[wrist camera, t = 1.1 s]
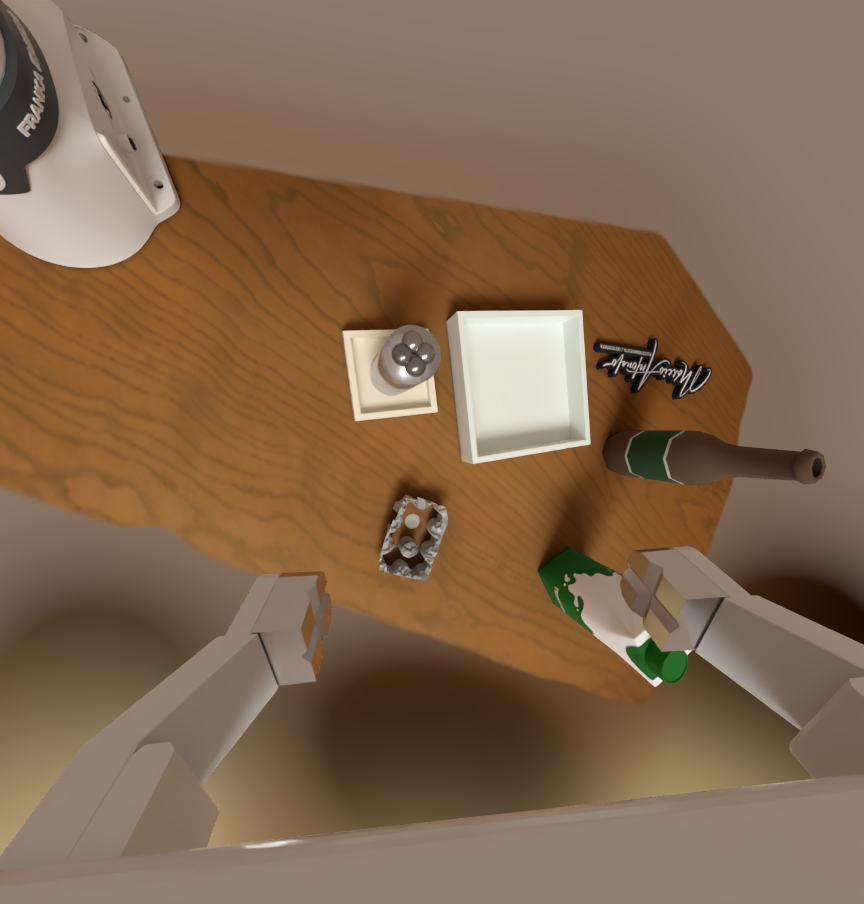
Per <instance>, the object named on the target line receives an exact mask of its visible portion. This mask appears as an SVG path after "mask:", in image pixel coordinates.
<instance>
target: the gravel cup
mask: <svg viewBox="0 0 864 904" xmlns="http://www.w3.org/2000/svg"><path fill="white" fill-rule="evenodd" d="M440 361H441V352H440V347H439V344H438V342H437V340H436V339H435V337H434V336H433V335H432V334H431V333H430V332H429V331H428V330H426V329H425V328H423V327H420V326H417V325H405V326H402V327H400V328H398V329H396V330H395V331H394V332H393V333H392V334H391V335H390V337H389V338H388V340H387V342H386V343H385V345H384V346H383V348H382V350H381V351H380V353H379V354H378V356H377V358H376V359H375V361H374V362H373V364H372V366H371V370H370V378H371V381H372V384H373V385H374V387H375V388H376V389H377V390H378V391H379V392H380V393H382V394H384V395H387V396H397V395H400V394H402V393H404V392H406V391H407V390H409V389H411V388H413V387H415V386H417V385H419V384H421V383H423V382H425V381H427V380H428V379H430V378H431V377H432V376H433V375H434V374H435V373H436V371H437V370H438V368H439V365H440Z"/></svg>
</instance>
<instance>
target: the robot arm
mask: <svg viewBox="0 0 864 904" xmlns="http://www.w3.org/2000/svg"><path fill="white" fill-rule="evenodd" d="M85 42H87V43H85ZM159 185H163V188H162V189H157V187H158V186H159ZM179 208H180V199H179V197H178V194H177V192H176V189H175V187H174V184H173V182H172V179H171V176H170V174H169V171H168V169H167V166H166V164H165V161H164V159H163V156H162V154H161V151H160V149H159V146H158V144H157V141H156V138H155V136H154V133H153V131H152V128H151V126H150V123H149V121H148V118H147V116H146V113H145V111H144V108H143V105H142V103H141V100H140V98H139V95H138V93H137V90H136V88H135V85H134V83H133V80H132V77H131V75H130V73H129V70H128V67H127V65H126V63H125V61H124V59H123V58H122V56H121V55H120V53H119V52H118V50H117V49H116V48H115V47H114V46H113V45H111V44H110V43H108V42H107V41H106V40H104V39H102V38H101V37H99V36H98V35H96V34H94V33H92V32H91V31H89V30H87V29H85V28H83V27H80V26H78V25H76V24H74V23H71V21H70V20H69V19H68V17H67V16H66V15H65V14H64V12H63V11H62V10H61V9H60V8H59V7H58V6H57V5H56V4H54V3H53V2H52V1H51V0H0V235H1V236H2V237H4V238H5V239H6V240H7V241H9V242H10V243H12V244H13V245H15V246H16V247H18V248H19V249H21V250H23V251H25V252H27V253H28V254H31V255H33V256H35V257H37V258H40V259H42V260H45V261H48V262H51V263H55V264H59V265H63V266H69V267H77V268H95V267H103V266H108V265H112V264H115V263H118V262H120V261H123V260H125V259H127V258H129V257H130V256H132V255H133V254H135V253H136V252H137V251H138V250H139V249H141V248H142V246H143V245H144V244H145V243H146V242H147V240H148V239H149V237H150V235H151V234H152V232H153V230H154V229H155V227H156V226H157V225H158V224H159V223H160V222H162V221H164V220H166V219H167V218H169V217H171V216H172V215H174V214H175V213H176V212H177V211H178V210H179ZM627 563H628V565H629V567H630V568H628V569H627V570H626V571H625V572H624V573H623V574H622V577H621V581H620V587H621V593H622V596H623V598H624V600H625V602H626V604H627V605H628V606H629V608H630V609H631V611H633V612H634V613H636V614H638V615H639V616H641V617H642V618H643V627H644V628H645V630H646V631H647V633H648V634H649V635H650V637H651V638H652V639H653V641H654V642H655V643H656V645H657V646H658V648H659V649H660V650H661V652H665V651H684V650H696V653H698V654H699V655H700V656H702V657H703V658H704V659H706V660H707V661H708V662H710V663H711V664H713V665H714V666H715V667H717V668H718V669H719V670H720V671H722V672H723V673H724V674H726V675H727V676H728V677H730V678H731V679H733V680H734V681H735V682H736V683H738V684H739V685H740V686H742V687H743V688H745V689H746V690H747V691H749V692H750V693H751V694H753V695H754V696H755V697H757V698H758V699H759V700H761V701H762V702H763V703H765V704H766V705H767V706H769V707H770V708H771V709H773V710H774V711H775V712H777V713H778V714H779V715H781V716H782V717H783V718H785V719H786V720H787V721H789V722H790V723H791V724H793V725H794V726H795V727H797V728H798V729H799V730H801V731H800V732H799V733H798V734H797V735H796V737H795V738H794V739H793V740H792V741H791V742H790V751H791V753H792V754H793V755H794V756H795V758H796V759H797V760H798V761H799V762H800V763H801V765H802V766H803V767H804V768H805V769H806V770H807V772H808V773H809V774H810V775H811V776H812V778H813V779H809V780H801V781H792V782H782V783H774V784H764V785H757V786H748V787H738V788H729V789H721V790H711V791H702V792H693V793H685V794H675V795H667V796H658V797H649V798H640V799H631V800H622V801H613V802H604V803H595V804H586V805H577V806H568V807H560V808H551V809H542V810H534V811H524V812H515V813H506V814H497V815H488V816H479V817H471V818H462V819H453V820H444V821H435V822H426V823H417V824H408V825H399V826H390V827H381V828H373V829H364V830H355V831H346V832H337V833H328V834H319V835H310V836H301V837H292V838H283V839H274V840H266V841H257V842H248V843H239V844H230V845H221V846H212V847H207V845H208V842H209V839H210V837H211V834H212V831H213V828H214V826H215V822H216V820H217V817H218V814H219V809H218V806H217V803H216V802H215V800H214V799H213V798H212V797H211V795H210V794H209V792H208V791H207V790H206V788H205V787H204V786H203V784H204V782H205V781H206V780H207V779H208V777H209V776H210V775H211V773H212V772H213V771H214V770H215V768H216V767H217V766H218V765H219V763H220V762H221V761H222V759H223V758H224V757H225V756H226V754H227V753H228V752H229V750H230V749H231V748H232V747H233V745H234V744H235V743H236V741H237V740H238V739H239V738H240V736H241V735H242V734H243V732H244V731H245V730H246V729H247V727H248V726H249V725H250V724H251V722H252V721H253V720H254V719H255V717H256V716H257V715H258V714H259V712H260V711H261V710H262V708H263V707H264V706H265V704H266V703H267V702H268V700H269V699H270V698H271V697H272V695H273V694H274V693H275V692H276V691H277V689H278V685H287V684H296V683H305V682H313V681H316V680H317V676H318V672H319V668H320V663H321V659H322V656H323V648H322V644H321V641H322V640H323V639H324V637H325V636H326V635H327V634H328V631H329V626H330V620H331V600H330V595H329V594H328V593H327V592H326V591H324V590H325V586H326V583H327V581H326V578H325V574H324V572H297V573H282V574H262V575H260V576H259V577H258V578H257V579H256V581H255V582H254V584H253V586H252V588H251V590H250V591H249V593H248V595H247V596H246V599H245V600H244V602H243V604H242V606H241V608H240V609H239V611H238V613H237V615H236V616H235V618H234V620H233V622H232V624H231V626H230V627H229V629H228V631H227V633H226V635H225V636H220V637H217V638H216V639H215V640H213V641H212V642H211V643H209V644H208V645H207V646H206V647H204V649H202V650H201V651H199V652H198V653H197V654H196V655H195V656H193V657H192V658H191V659H190V660H188V661H187V662H186V663H185V664H183V665H182V666H181V667H180V668H178V669H177V670H176V671H175V672H174V673H172V674H171V675H170V676H169V677H167V678H166V679H165V680H164V681H163V682H161V683H160V684H159V685H158V686H156V687H155V688H154V689H153V690H151V691H150V692H149V693H148V694H146V695H145V696H144V697H143V698H141V699H140V700H139V701H138V702H136V703H135V704H134V705H133V706H132V707H130V708H129V709H128V710H126V711H125V712H124V713H123V714H122V715H120V716H119V717H118V718H117V719H116V720H114V721H113V722H112V723H110V724H109V725H108V726H107V727H105V728H104V729H103V730H102V731H100V732H99V733H98V734H97V735H96V736H94V737H93V738H92V739H91V740H90V741H88V742H87V743H86V744H84V745H83V746H82V747H81V748H80V749H79V751H78V752H77V753H76V755H75V756H74V758H73V759H72V760H71V761H70V763H69V764H68V765H67V767H66V768H65V770H64V771H63V772H62V774H61V775H60V776H59V778H58V779H57V780H56V782H55V783H54V785H53V786H52V787H51V789H50V790H49V791H48V793H47V794H46V796H45V797H44V798H43V799H42V801H41V802H40V804H39V805H38V806H37V808H36V809H35V810H34V812H33V813H32V814H31V816H30V817H29V818H28V820H27V821H26V823H25V824H24V825H23V827H22V828H21V829H20V831H19V832H18V833H17V835H16V836H15V837H14V839H13V840H12V841H11V843H10V844H9V846H8V847H7V848H6V850H5V851H4V853H3V854H2V855H1V856H0V904H864V645H862V644H860V643H858V642H856V641H854V640H852V639H850V638H848V637H845V636H843V635H841V634H839V633H837V632H835V631H832V630H830V629H828V628H826V627H824V626H822V625H820V624H817V623H815V622H813V621H811V620H809V619H807V618H805V617H802V616H800V615H798V614H796V613H794V612H792V611H789V610H787V609H785V608H783V607H781V606H779V605H777V604H775V603H772V602H770V601H768V600H766V599H764V598H762V597H760V596H751V595H749V593H747V592H746V591H745V590H744V589H743V588H741V587H740V586H739V585H738V584H737V583H735V582H734V581H733V580H732V579H731V578H730V577H728V576H727V575H726V574H725V573H724V572H723V571H721V570H720V569H719V568H718V567H717V566H715V565H714V564H713V563H712V562H711V561H710V560H708V559H707V558H706V557H705V556H704V555H703V554H701V553H700V552H699V551H698V550H696V549H694V548H692V547H690V546H685V547H672V548H659V549H646V550H633V551H632V552H631V553H630V554H629V556H628V559H627Z"/></svg>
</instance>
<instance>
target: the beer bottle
mask: <svg viewBox="0 0 864 904" xmlns="http://www.w3.org/2000/svg"><path fill="white" fill-rule="evenodd" d="M603 456H604V459H605V462H606V465H607V468H608V469H610V470H612V471H614V472H617V473H619V474H622V475H627V476H632V477H639V478H646V479H652V480H659V481H665V482H672V483H679V484H686V485H705V484H711V483H714V482H716V481H718V480H721V479H723V478H726V477H749V478H765V479H782V480H796V481H799V482H800V483H802V484H811V483H816V482H817V481H819V480H820V479H821V478H822V477H823V474H824V471H825V467H826V466H825V460H824V456H823V455H822V454H820V453H819V452H817V451H812V450H808V449H805V450H803V451H802V452H798V451H786V450H775V449H764V448H752V447H741V446H736V445H731V444H727V443H725V442H724V441H722V440H720V439H718V438H717V437H715V436H713V435H710V434H707V433H703V432H700V431H686V430H679V431H620V432H619V433H617V434H615V435H613V436H612V437H610V438H608V439H607V442H606V445H605V449H604V452H603Z"/></svg>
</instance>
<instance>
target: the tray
mask: <svg viewBox="0 0 864 904" xmlns="http://www.w3.org/2000/svg"><path fill="white" fill-rule="evenodd" d="M395 330H396V329H394V330H355V331H343V333H342V338H343V345H344V352H345V359H346V367H347V374H348V381H349V388H350V395H351V402H352V409H353V416H354V421H362V420H371V419H381V418H390V417H399V416H408V415H417V414H426V413H434V412H438V410H437V401H436V392H435V383H434V375H433V376H432V377H431V378H430V379H428V380H427V381H425V382H423V383H421V384H419V385H417V386H415V387H413V388H411V389H409V390H407V391H406V392H404V393H402V394H400V395H397V396H387V395H384V394H382V393H380V392H379V391H378V390H377V389H376V388H375V387H374V385H373V384H372V381H371V378H370V370H371V366H372V364H373V362H374V361H375V359H376V358H377V356H378V354H379V353H380V351H381V350H382V348H383V346H384V345H385V343H386V342H387V340H388V338H389V337H390V335H391V334H392V333H393V332H394V331H395ZM426 330H428V329H426ZM428 331H429V330H428Z"/></svg>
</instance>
